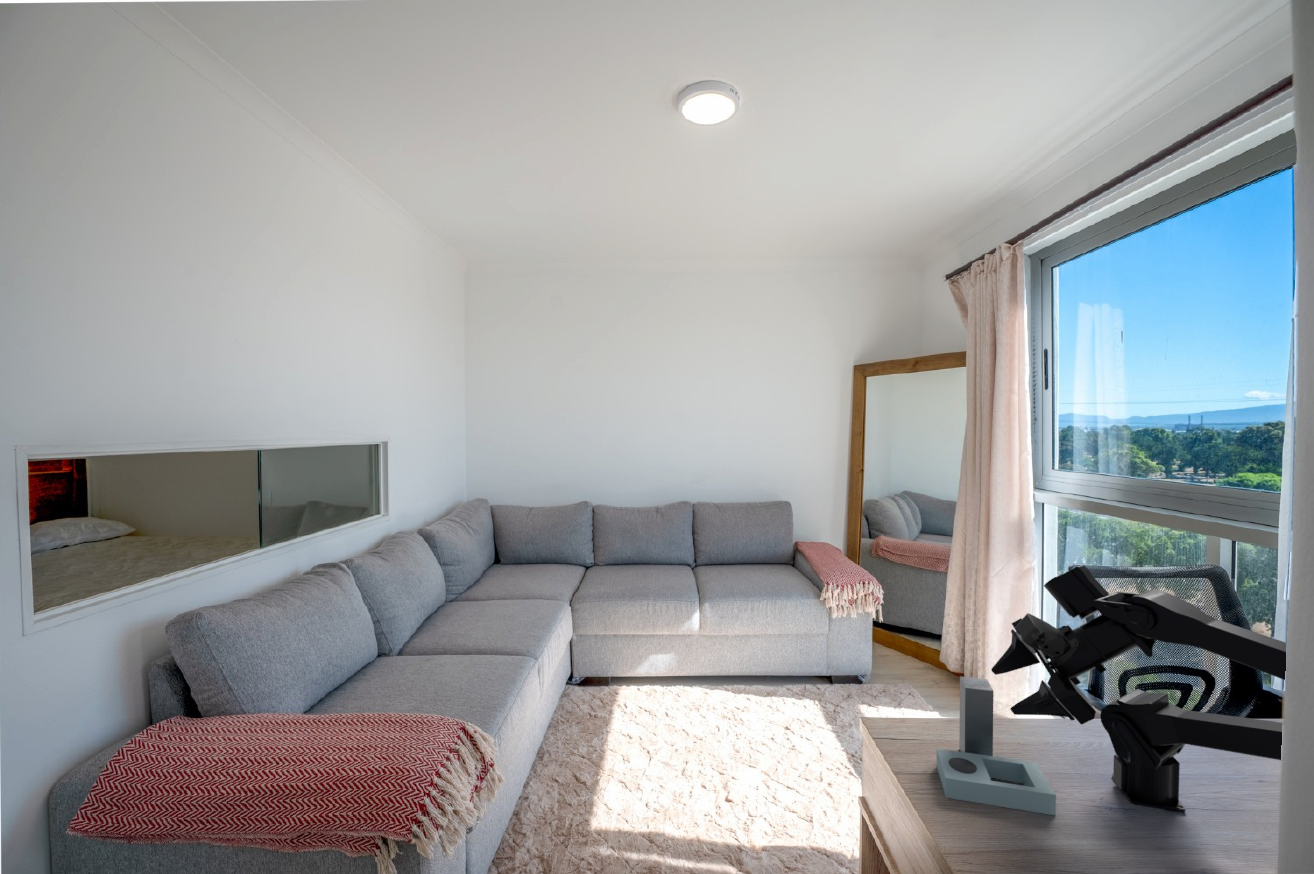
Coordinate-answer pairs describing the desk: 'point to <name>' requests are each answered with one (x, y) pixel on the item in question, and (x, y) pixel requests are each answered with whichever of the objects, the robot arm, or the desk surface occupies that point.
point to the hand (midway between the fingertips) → (1002, 690)
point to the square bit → (976, 716)
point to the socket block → (972, 782)
